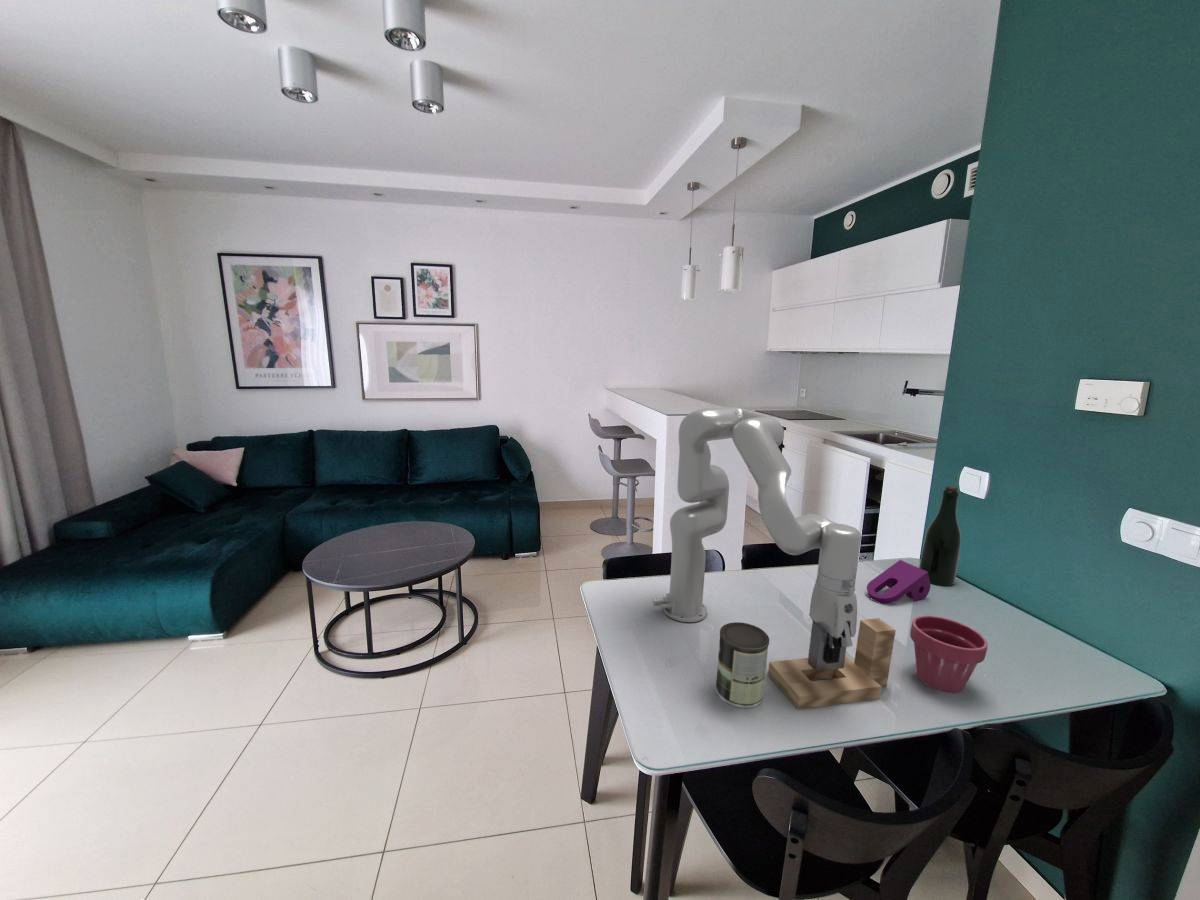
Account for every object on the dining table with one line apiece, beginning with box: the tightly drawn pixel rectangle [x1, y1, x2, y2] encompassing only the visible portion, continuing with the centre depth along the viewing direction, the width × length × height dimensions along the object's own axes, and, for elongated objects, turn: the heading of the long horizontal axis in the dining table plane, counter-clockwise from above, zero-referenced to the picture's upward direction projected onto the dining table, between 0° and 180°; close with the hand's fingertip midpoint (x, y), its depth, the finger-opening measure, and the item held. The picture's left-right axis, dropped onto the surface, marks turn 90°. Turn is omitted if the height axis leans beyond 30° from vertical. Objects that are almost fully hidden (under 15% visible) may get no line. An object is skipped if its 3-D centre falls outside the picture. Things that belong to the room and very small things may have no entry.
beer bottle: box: [918, 485, 962, 587], centre depth 165 cm, size 10×10×33 cm
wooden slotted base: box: [767, 617, 897, 710], centre depth 111 cm, size 25×12×14 cm, turn 102°
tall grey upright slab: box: [807, 622, 847, 671], centre depth 110 cm, size 7×3×10 cm, turn 102°
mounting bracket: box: [866, 559, 931, 604], centre depth 156 cm, size 9×8×18 cm
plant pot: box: [909, 615, 989, 694], centre depth 114 cm, size 14×14×13 cm
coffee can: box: [714, 621, 770, 709], centre depth 107 cm, size 10×10×14 cm
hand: (826, 656), depth 110 cm, fingers closed on tall grey upright slab, 3 cm apart
